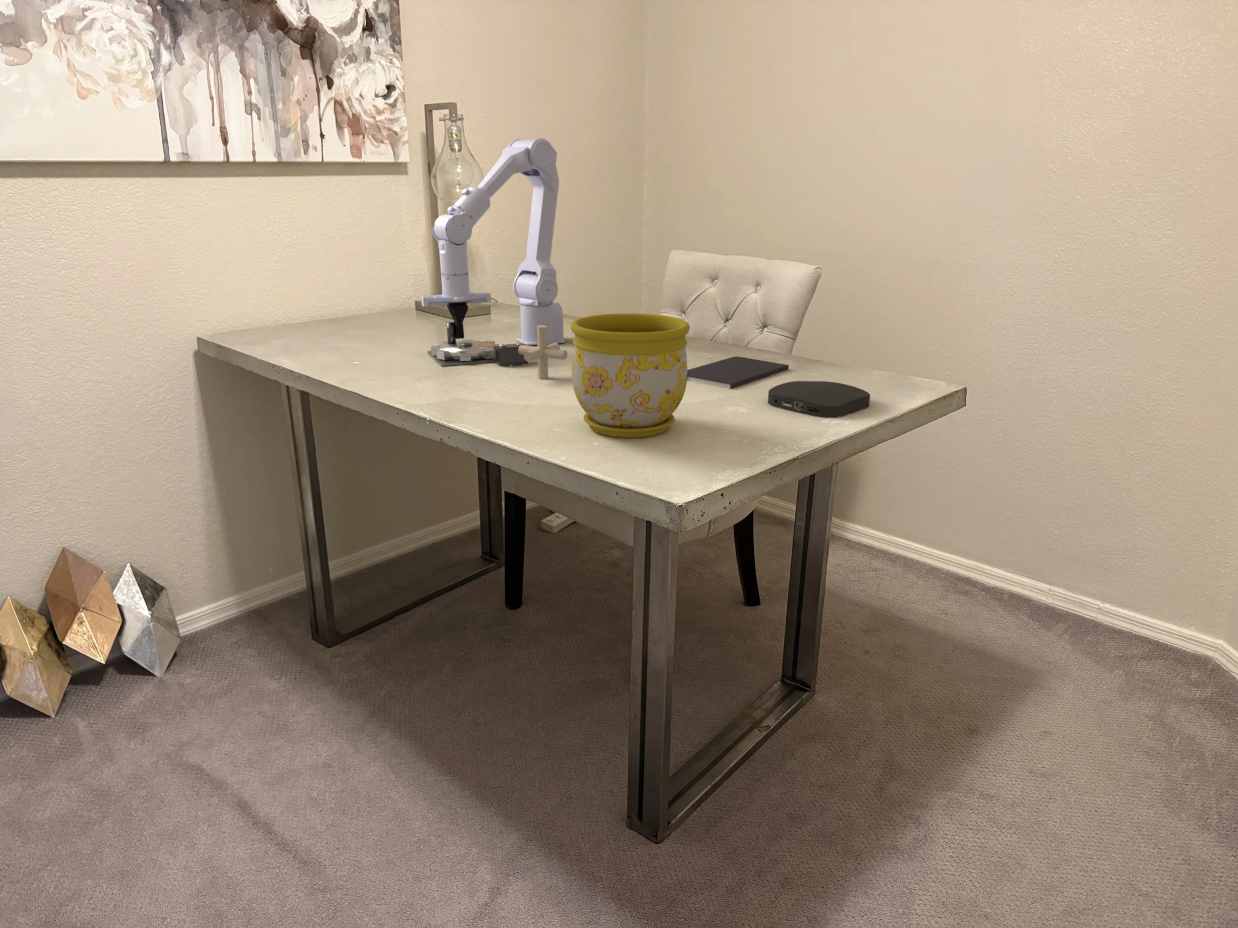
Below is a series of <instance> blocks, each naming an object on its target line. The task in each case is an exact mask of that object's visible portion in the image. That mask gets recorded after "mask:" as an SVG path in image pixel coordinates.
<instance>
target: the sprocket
mask: <svg viewBox="0 0 1238 928" xmlns="http://www.w3.org/2000/svg"><path fill="white" fill-rule="evenodd" d="M446 334H447V335H446V336H447V337H446V339H447V340H445V341H441V342H438V343H439V345H431V346H430V351H431V354H432V355H437V358H438V359H443V360H446V359H460V361H471V359H479V358H485V359H489V358H493V357H495V354H496V349H495V345H500V344H501V343H500V344H499V343H498V344H497V343H496V344H495V341H493V340H488V339H487V340H473V339H471V338H469V339H467V338H466V339H465V338H464V339H462V340H457V339H456V331H455V322H454V321H447V322H446Z"/></svg>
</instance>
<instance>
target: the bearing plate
mask: <svg viewBox="0 0 1238 928" xmlns="http://www.w3.org/2000/svg"><path fill="white" fill-rule="evenodd" d="M426 352H427V355H428V356H430V357H431V358H432V359H433V360H434V361H435V362H436V363H437V364H438V363H439V364H438V365H439V366H440V365H441V366H443V367H453V366H452V365H455V366H464V365H463V364H467V365H475V364H474V363H479V364H488V363H487V362H491V363H496V354H495V357H493V358H489V359H485V358H479V359H471V361H460V359H446V360H443V359H438V358H437V355H432V354H431V350H427V351H426ZM441 366H440V367H441Z"/></svg>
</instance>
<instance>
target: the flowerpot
mask: <svg viewBox="0 0 1238 928" xmlns="http://www.w3.org/2000/svg"><path fill="white" fill-rule="evenodd" d="M690 328H691V327H690V324H689V323H688V322H687V321H686V320H684V319H681V318H678V317H674V316H668V315H664V314H663V315H662V314H651V313H630V312H629V313H625V312H624V313H620V312H619V313H606V314H605V313H603V314H595V315H588V316H583V317H579V318H577V319H574V320H573V321H572V322H571V323H570V330H571V332H572V333H573V334H574V338H573V339H572V344H573V346H574V347H573V355H572V363H571V380H572V381H571V382H572V387H573V392H574V395H575V398H576V400H577V402H578V403H579V405H580V407H581V408H582V410H583V411H584V412H585V414H584V415H583V422H585V423H586V424H587V425H588V427H589V428H590V429H591V430H592V431H593V432H595V433H596V434H599V435H603V436H607V437H612V438H613V437H614V438H623V439H625V438H626V439H631V438H632V439H635V438H636V439H637V438H647V437H653V436H657V435H660V434H663V433H664V432H666V431H667V430H668V429H669V427H670V426H672V424H673V423H675V420H676V417H675V416H674V415H673V413H675V411H676V410H677V408H678V407H679V406H680V404H681V402H682V400H683V398H684V395H685V392H686V389H687V384H688V383H687V382H688V380H687V370H688V359H687V350H686V346H687V345H688V340H687V339H686V336H687V334H688V333H689V332H690Z"/></svg>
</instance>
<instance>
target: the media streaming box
mask: <svg viewBox="0 0 1238 928" xmlns="http://www.w3.org/2000/svg"><path fill="white" fill-rule="evenodd" d="M767 393H768V395H767V396H768V397H767V404H768V405H770V406H772V407H775V408H778V409H779V408H780V409H783V410H785V411H791V412H795V413H799V414H804V415H807V414H808V415H809V416H811V417H812V416H813V417H817V416H819V417H818V418H829V417H831V418H839V417H838V416H841V417H844V416H847V415H850V414H849V413H851V414H853V412H854V413H856V412H859V411H862V410H864V409H867V408H868V406H869V407H870V400H871V393H869V392H868V391H866V390H864V389H863V388H859V387H857V386H853V385H851V384H845V383H841V382H835V381H824V380H823V381H822V380H821V381H820V380H810V381H809V380H794V381H793V380H792V381H787V382H784V383H781V384H778V385H774V386H773V387H771V388H769V390H768V392H767ZM866 407H867V408H866ZM861 409H862V410H861ZM858 410H859V411H858ZM855 411H856V412H855ZM846 414H847V415H846ZM843 415H844V416H843Z"/></svg>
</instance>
